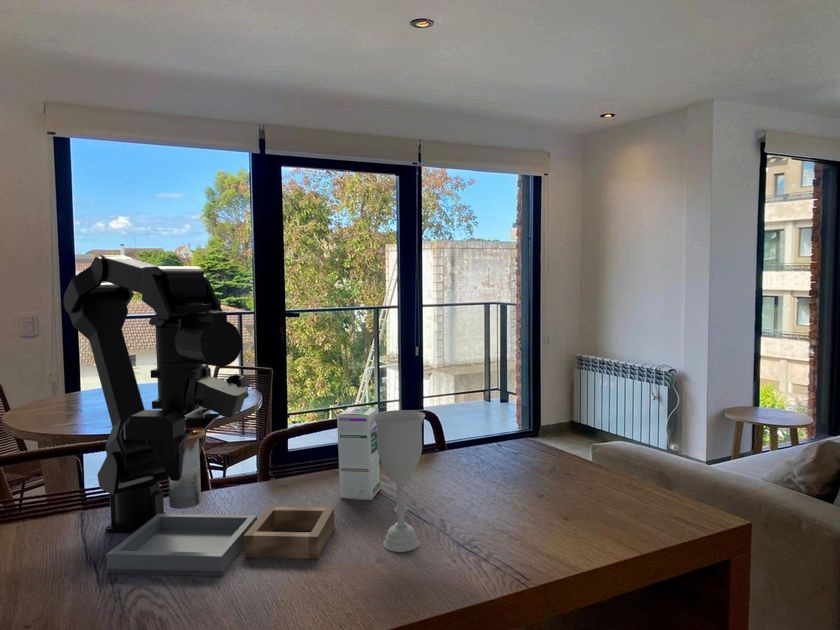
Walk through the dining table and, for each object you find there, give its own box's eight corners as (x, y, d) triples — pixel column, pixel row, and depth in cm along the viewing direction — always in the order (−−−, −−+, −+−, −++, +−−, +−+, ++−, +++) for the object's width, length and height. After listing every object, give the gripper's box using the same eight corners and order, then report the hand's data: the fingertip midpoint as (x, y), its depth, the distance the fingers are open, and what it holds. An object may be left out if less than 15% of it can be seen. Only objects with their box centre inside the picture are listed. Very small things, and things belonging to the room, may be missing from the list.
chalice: (387, 559, 79) (385, 424, 78) (367, 539, 85) (365, 414, 84) (436, 547, 83) (434, 417, 81) (413, 529, 89) (411, 408, 87)
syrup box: (372, 500, 100) (370, 414, 99) (338, 498, 101) (336, 413, 100) (381, 488, 106) (379, 406, 105) (349, 486, 107) (347, 405, 106)
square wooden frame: (244, 557, 80) (243, 535, 80) (268, 526, 90) (268, 506, 90) (318, 558, 80) (317, 536, 80) (334, 527, 90) (334, 507, 89)
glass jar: (155, 510, 80) (152, 436, 79) (175, 495, 85) (172, 425, 84) (196, 511, 79) (193, 436, 79) (213, 495, 85) (211, 425, 84)
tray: (107, 573, 77) (106, 554, 76) (158, 530, 90) (158, 513, 89) (222, 575, 76) (221, 556, 75) (257, 531, 88) (257, 515, 88)
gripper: (209, 371, 71) (213, 501, 72) (262, 351, 90) (264, 454, 91) (118, 371, 72) (123, 499, 73) (189, 351, 90) (193, 453, 91)
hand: (184, 474), depth 82 cm, fingers closed on glass jar, 5 cm apart
